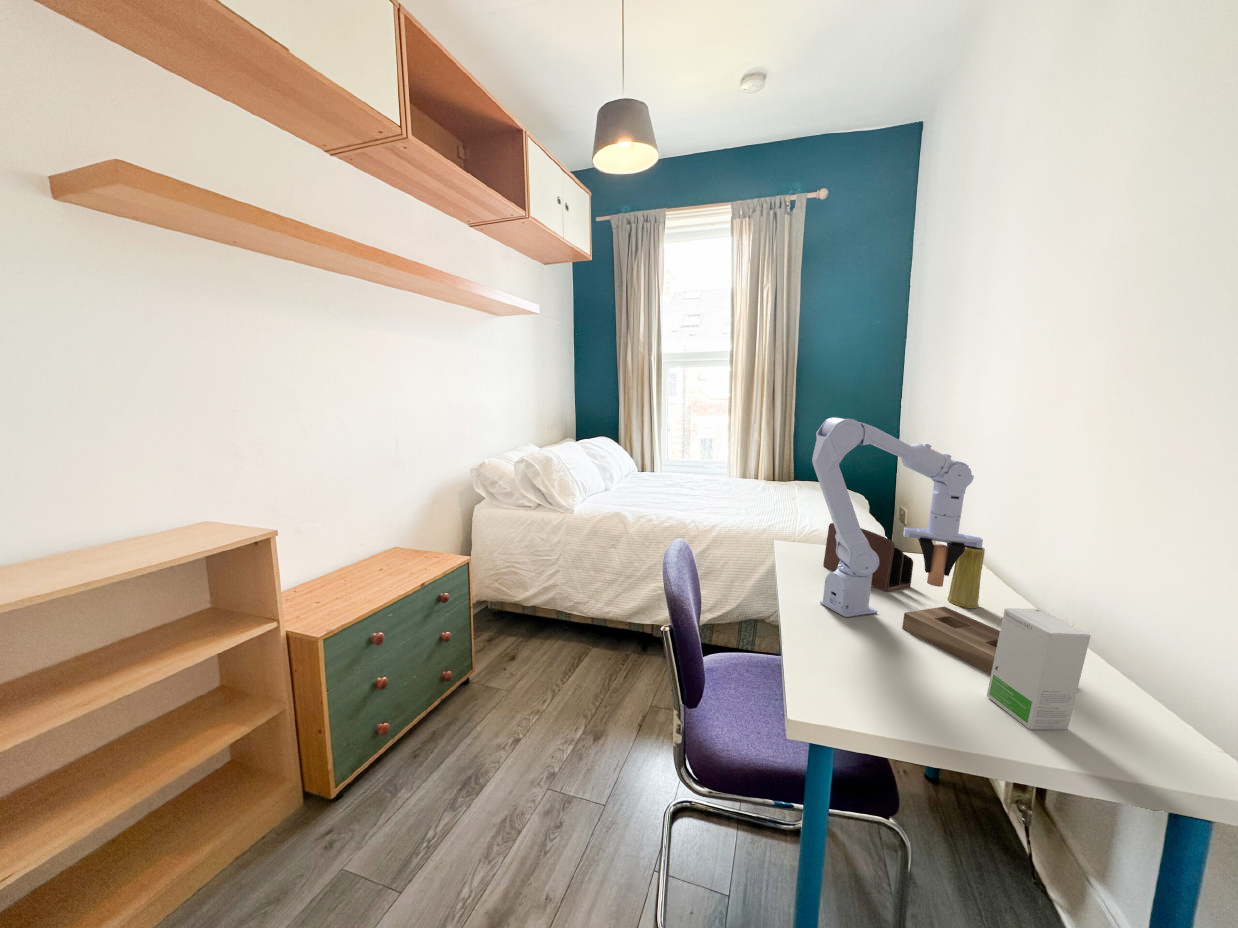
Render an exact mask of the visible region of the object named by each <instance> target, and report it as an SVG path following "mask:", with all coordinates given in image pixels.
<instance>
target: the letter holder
mask: <svg viewBox="0 0 1238 928" xmlns="http://www.w3.org/2000/svg"><path fill="white" fill-rule="evenodd" d="M860 528H861V527H860ZM827 529H828V530H827V536H826V544H825V550H824V556H823V557H824V559H823V567H824V568H827V569H829V570H832V571H833V572H834V571H836V570H837V568H838V564H839V562H840V559H839V557H838V556H837V554H836V546H837V541H836V538H835V535H836V529H835V526H834V524H833V522H831V523H829V525H828V528H827ZM861 531H862V532H863V534H864V536H865V537H866V539H867V540H868V542H869V545H870V547H871V549H872V550H873V551H874V552H876V554H877V555H878V557H879V566H878V568H877V570H876V571H875V572H874V573H873V574H872V582H871V587H873V588H876V589H878V590H881V591H883V592H885V593H888V592H892V591H897V590H902V589H906V588H910V587H911V585H912V578H913V570H914V569H913V567H914V560H913V559H912V557H910V556H908V555H907V554H905V553H904V551H902V550H901V549H900V548H898V547H896V546H895V543H894V541H893V540H891V539H889V538H887V537H885V536H883V535H881V534H879V533H875V532H873V531H871V530H867V529H864V528H861Z"/></svg>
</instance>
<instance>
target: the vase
mask: <svg viewBox="0 0 1238 928" xmlns="http://www.w3.org/2000/svg"><path fill="white" fill-rule="evenodd" d="M964 547H965V551H964V553H963V554H962V555H961V556H960V557H959V558H958V559H957V561H956V562H955V564H954V566H953V567H954V568H953V572H952V578H951V583H950V588H949V591H948V596H947V601H948V602H949V603H950V604H952V605H954V606H957V607H960V608H961V607H962V608H965V609H977V608H978V607H979V598H980V590H981V589H980V588H981V577H982V569H983V565H984V559H985V552H986V551H985V548H984V547H983V546H982V548H977V547H975V546H967V545H964Z"/></svg>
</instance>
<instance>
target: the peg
mask: <svg viewBox="0 0 1238 928" xmlns="http://www.w3.org/2000/svg"><path fill="white" fill-rule="evenodd" d="M933 546H934V548H933V552H932V557H931V568H930V573H927V581H926V582H927V584H928V585H929V586H933V587H937V588H939V587H940V588H941V587H943V586H944V581H945V575H944V574H945V567H946V561H947V554H948V546H947V544H942V543H934V542H933Z"/></svg>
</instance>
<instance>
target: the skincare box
mask: <svg viewBox="0 0 1238 928" xmlns="http://www.w3.org/2000/svg"><path fill="white" fill-rule="evenodd" d="M999 630H1000V634H999V639H998V644H997V648H996V653H995V658H994V662H993V667H992V672H991V674H990V677H989V683H988V687H987V691H986V697H987V698H988V699H989V700H991V701H993V702H994V704H996V705H997V706H999V707H1000V708H1001V709H1002V710H1004V711H1005V712H1006V713H1008V714H1009V716H1012V717H1013V718H1014V719H1016V721H1018V722H1019V723H1020V724H1021V725H1023V726H1024V727H1025V728H1027V729H1029V730H1030V731H1044V730H1045V731H1053V730H1055V731H1056V730H1059V731H1060V730H1066V731H1067V730H1068V729H1069V726H1070V721H1071V717H1072V712H1073V708H1074V705H1075V700H1076V697H1077V693H1078V689H1079V686H1080V685H1079V684H1080V680H1081V676H1082V672H1083V667H1084V664H1085V660H1086V656H1087V651H1088V648H1089V643H1090V640H1091V637H1092V636H1091V634H1090V633H1087V632H1086V631H1083V630H1081V629H1080V628H1078V627H1075V626H1074V625H1071V624H1070V623H1069V622H1068V621H1066V620H1064V619H1061V618H1059V617H1056V616H1054V615H1052V614H1050V613H1048V612H1046V611H1045V610H1044V609H1043V610H1042V609H1041V608H1006V607H1005V608H1004V611H1003V616H1002V621H1001V626H1000V629H999Z"/></svg>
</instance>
